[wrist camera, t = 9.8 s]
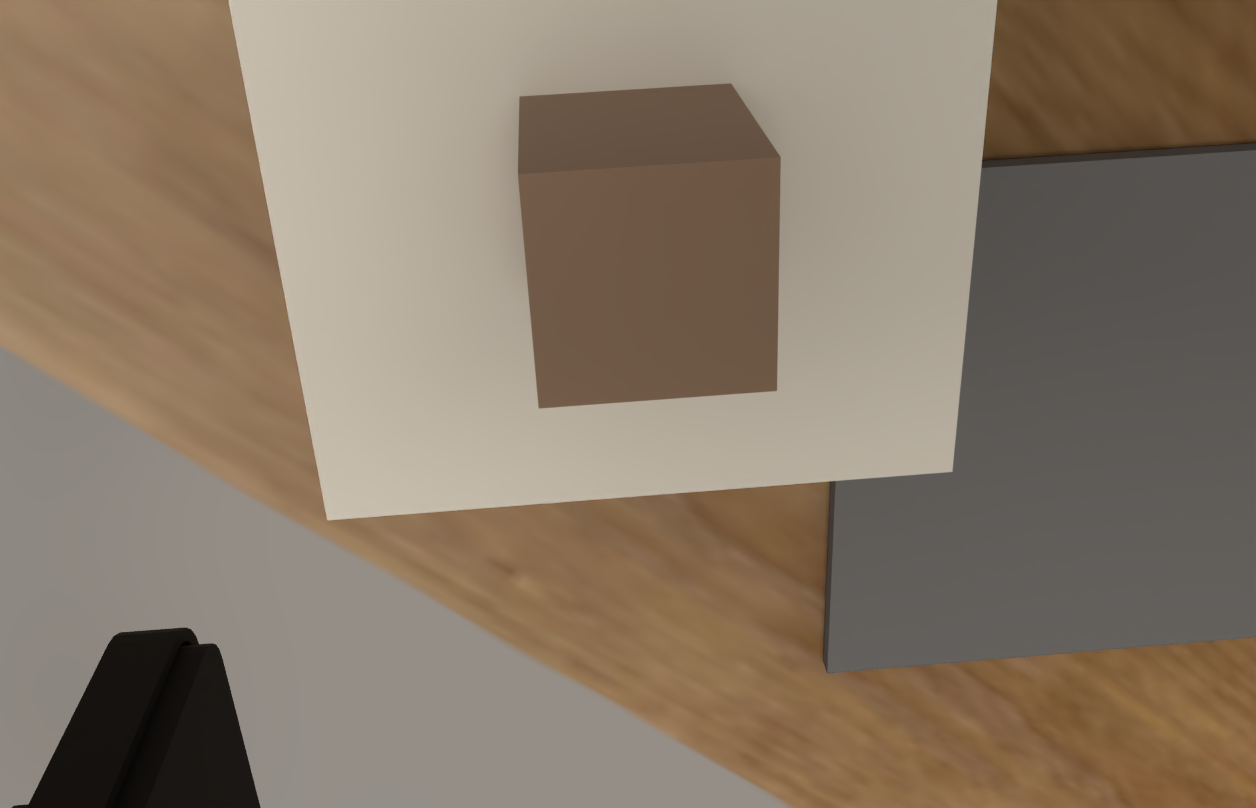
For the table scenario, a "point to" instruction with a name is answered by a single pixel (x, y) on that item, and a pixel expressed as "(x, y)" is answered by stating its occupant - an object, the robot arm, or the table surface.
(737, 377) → the lid
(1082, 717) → the table surface
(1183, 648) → the table surface
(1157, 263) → the mat
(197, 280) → the table surface
